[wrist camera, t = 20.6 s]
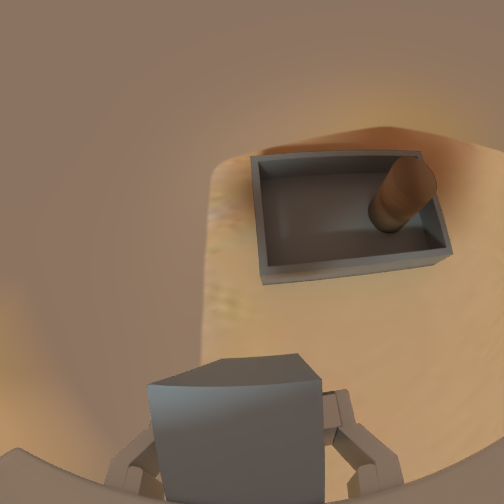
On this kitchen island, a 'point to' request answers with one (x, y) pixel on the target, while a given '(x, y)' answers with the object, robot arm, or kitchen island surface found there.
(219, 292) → the kitchen island surface
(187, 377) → the slate block
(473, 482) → the robot arm
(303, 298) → the kitchen island surface
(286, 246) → the tote
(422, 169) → the wooden cylinder
